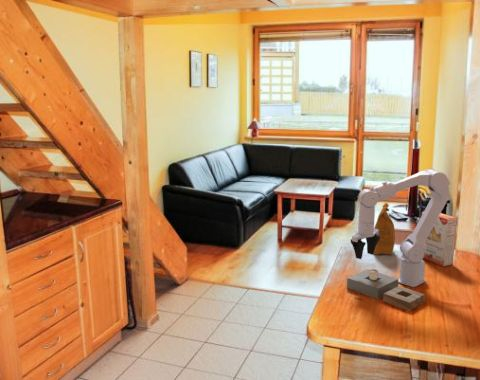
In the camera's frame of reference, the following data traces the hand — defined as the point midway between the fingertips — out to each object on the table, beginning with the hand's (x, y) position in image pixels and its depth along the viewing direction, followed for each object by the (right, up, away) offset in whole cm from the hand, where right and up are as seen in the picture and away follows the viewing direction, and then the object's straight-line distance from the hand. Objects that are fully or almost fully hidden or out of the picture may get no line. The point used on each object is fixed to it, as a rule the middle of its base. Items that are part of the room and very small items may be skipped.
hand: (364, 256), depth 187 cm
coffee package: (+18, -3, +37) cm, 41 cm away
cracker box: (+37, -6, +25) cm, 45 cm away
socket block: (+10, -14, -16) cm, 23 cm away
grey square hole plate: (+2, -11, -4) cm, 12 cm away
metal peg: (+2, -12, -4) cm, 12 cm away
